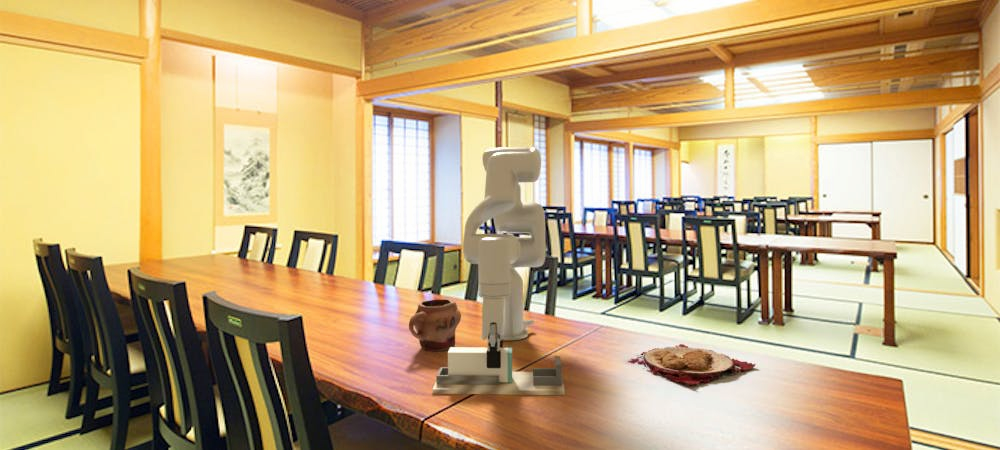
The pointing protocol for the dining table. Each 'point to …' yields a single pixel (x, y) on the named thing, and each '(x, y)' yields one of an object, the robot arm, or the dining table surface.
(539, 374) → the socket
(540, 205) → the robot arm
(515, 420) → the dining table surface
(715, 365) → the plate with food
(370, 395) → the dining table surface
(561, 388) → the base
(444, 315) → the brown clay mug
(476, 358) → the white teal block
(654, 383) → the dining table surface
